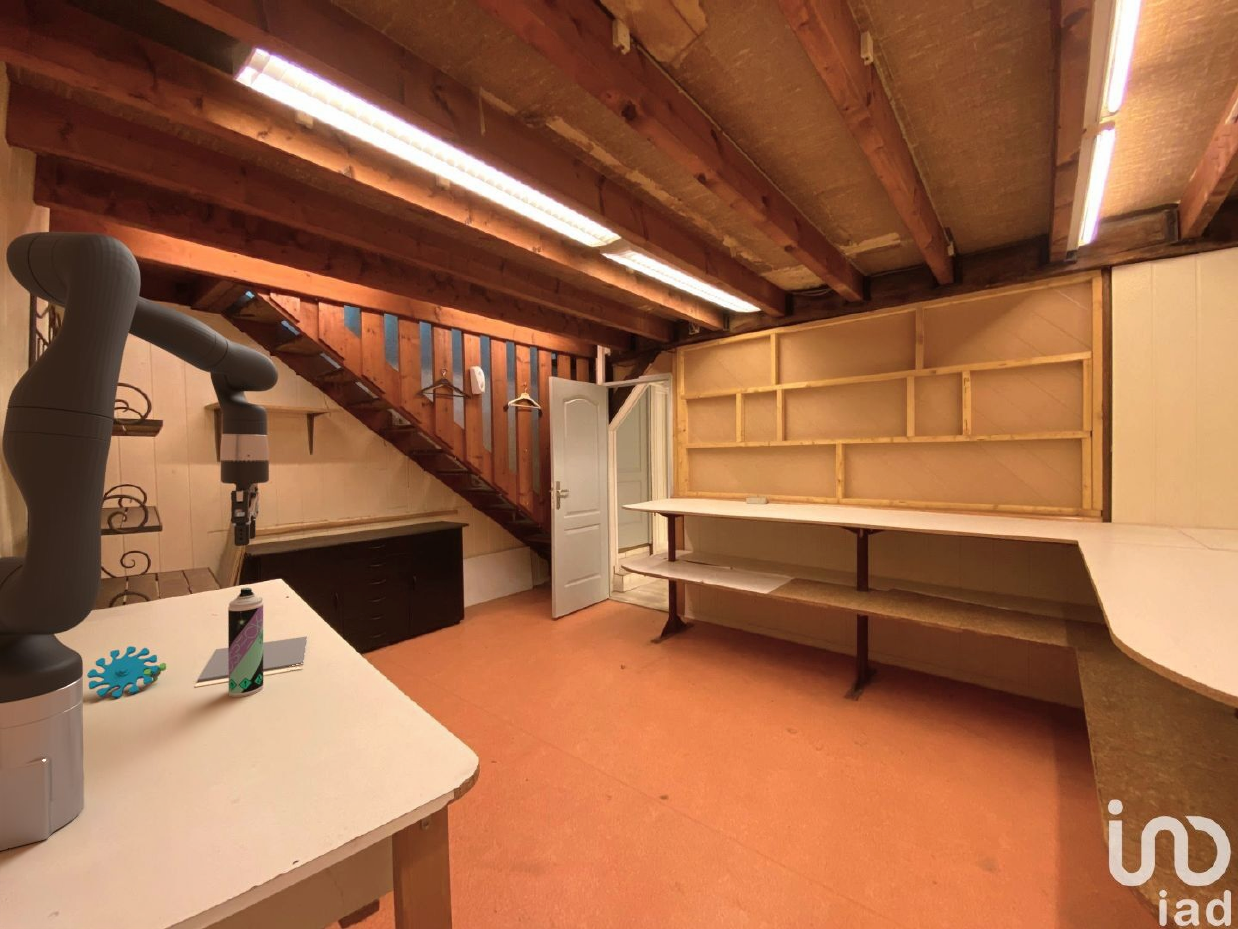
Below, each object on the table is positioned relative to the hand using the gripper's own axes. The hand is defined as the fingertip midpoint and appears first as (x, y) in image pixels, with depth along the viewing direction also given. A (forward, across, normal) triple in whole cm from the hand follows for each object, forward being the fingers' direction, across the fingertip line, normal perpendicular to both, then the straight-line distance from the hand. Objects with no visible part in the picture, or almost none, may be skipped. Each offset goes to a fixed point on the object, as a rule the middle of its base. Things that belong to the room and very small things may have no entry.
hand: (245, 542), depth 98 cm
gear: (+29, +11, +20) cm, 37 cm away
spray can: (+29, 0, 0) cm, 29 cm away
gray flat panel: (+29, +17, 0) cm, 33 cm away
